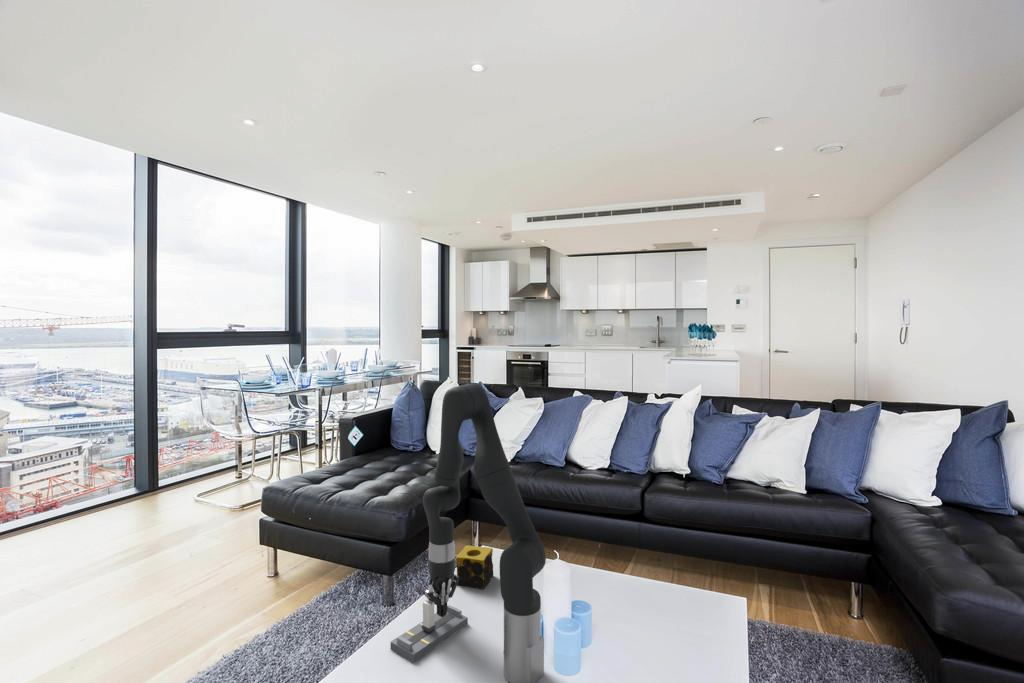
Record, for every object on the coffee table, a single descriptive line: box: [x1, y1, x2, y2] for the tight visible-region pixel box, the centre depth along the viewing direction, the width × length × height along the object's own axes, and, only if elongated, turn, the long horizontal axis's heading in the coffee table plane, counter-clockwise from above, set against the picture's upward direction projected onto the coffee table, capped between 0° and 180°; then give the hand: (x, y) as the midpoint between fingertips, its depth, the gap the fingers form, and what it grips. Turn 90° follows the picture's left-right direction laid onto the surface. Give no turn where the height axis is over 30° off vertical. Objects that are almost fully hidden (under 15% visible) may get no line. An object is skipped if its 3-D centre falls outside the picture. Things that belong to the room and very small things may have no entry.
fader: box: [422, 598, 436, 633], centre depth 141 cm, size 3×2×8 cm
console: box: [390, 604, 469, 663], centre depth 141 cm, size 9×21×4 cm, turn 143°
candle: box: [455, 545, 494, 590], centre depth 172 cm, size 10×10×10 cm
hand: (442, 615), depth 145 cm, fingers closed
